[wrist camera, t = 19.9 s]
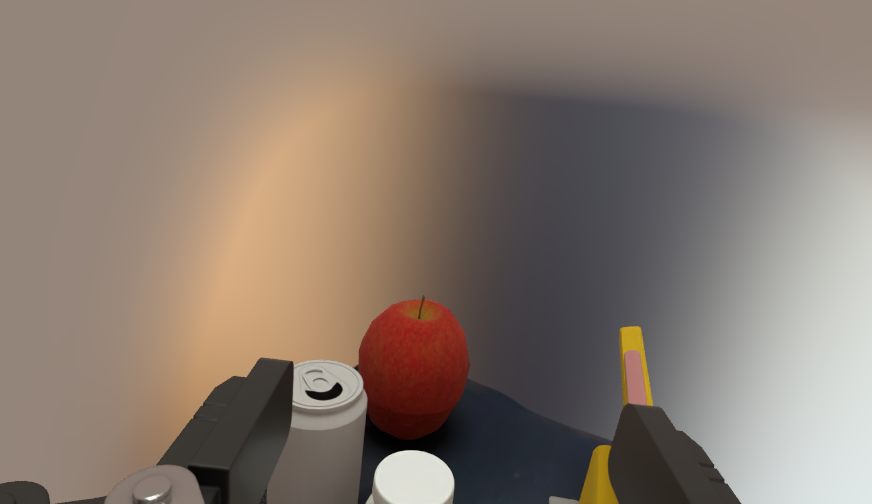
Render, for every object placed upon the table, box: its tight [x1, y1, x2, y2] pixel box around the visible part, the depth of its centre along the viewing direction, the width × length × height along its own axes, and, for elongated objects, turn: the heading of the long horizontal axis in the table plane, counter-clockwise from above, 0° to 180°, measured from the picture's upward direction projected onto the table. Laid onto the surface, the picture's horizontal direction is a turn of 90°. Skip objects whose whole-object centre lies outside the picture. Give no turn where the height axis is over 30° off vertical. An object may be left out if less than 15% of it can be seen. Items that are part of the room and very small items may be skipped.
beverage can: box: [267, 360, 367, 504], centre depth 35 cm, size 6×6×12 cm
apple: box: [359, 295, 470, 440], centre depth 46 cm, size 10×10×14 cm
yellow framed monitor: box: [548, 326, 653, 504], centre depth 33 cm, size 20×8×16 cm, turn 162°
